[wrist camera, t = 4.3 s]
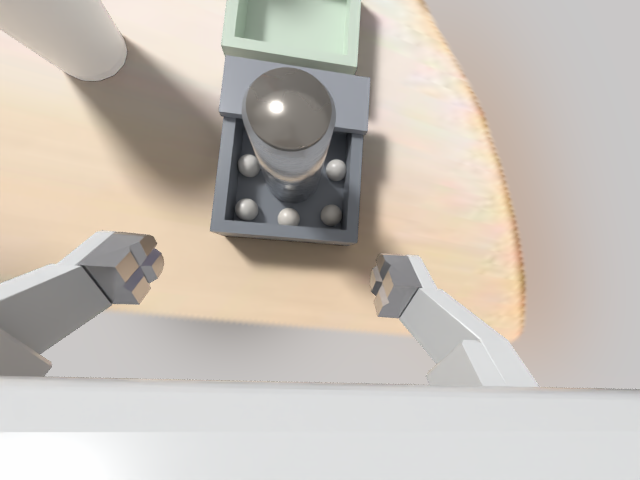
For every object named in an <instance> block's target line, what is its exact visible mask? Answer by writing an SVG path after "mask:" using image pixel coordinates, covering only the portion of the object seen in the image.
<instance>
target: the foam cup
mask: <svg viewBox="0 0 640 480" xmlns="http://www.w3.org/2000/svg"><path fill="white" fill-rule="evenodd" d="M0 30H2V31H3V32H5V33H6V34H8V35H9V36H11V37H12V38H14V39H15V40H17V41H18V42H20V43H21V44H23V45H24V46H26V47H27V48H29V49H30V50H32V51H33V52H35V53H36V54H38V55H39V56H41V57H42V58H44V59H45V60H47V61H48V62H50V63H51V64H53V65H54V66H56V67H57V68H59V69H61V70H63V71H65V72H66V73H67V74H68V75H71V76H73V77H76V78H78V79H80V80H83V81H100V80H103V79H105V78H108V77H111V76H113V75H115V74H116V73H117V72H118V70H119V69H120V68H121V67H122V66H123V65H124V63H125V59H126V55H127V52H128V51H127V48H126V44H125V40H124V38H123V37H122V35H121V34H120V31H119V29H118V28H117V26H116V24H115V23H114V21H113V20H112V18H111V16H110V15H109V13H108V11H107V10H106V8H105V7H104V5H103V3H102V2H101V0H0Z"/></svg>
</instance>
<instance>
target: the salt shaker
mask: <svg viewBox="0 0 640 480" xmlns="http://www.w3.org/2000/svg"><path fill="white" fill-rule="evenodd" d="M241 109H242V119H243V123H244V126H245V129H246V131H247V134H248V136H249V139H250V142H251V144H252V147H253V149H254V152H255V155H256V157H257V160H258V163H259V165H260V168H261V170H262V173H263V176H264V178H265V181H266V184H267V186H268V188H269V190H270V192H271V193H272V194H273V195H274V196H275V197H276V198H277V199H279V200H281V201H283V202H286V203H300V202H303V201H305V200H307V199H308V198H310V197H311V196H312V195H313V193H314V192H315V190H316V188H317V186H318V182H319V179H320V175H321V172H322V168H323V165H324V161H325V158H326V155H327V151H328V148H329V144H330V141H331V137H332V134H333V130H334V127H335V122H336V109H335V104H334V101H333V98H332V96H331V94H330V93H329V91H328V90H327V88H326V87H325V86H324V85H323V84H322V83H321V82H320V81H319V80H318V79H317V78H315V77H314V76H313V75H311V74H309V73H308V72H305V71H303V70H300V69H297V68H291V67H281V68H275V69H272V70H269V71H267V72H265V73H263V74H262V75H260V76H259V77H258V78H257V79H255V80H254V81H253V82H252V83H251V85H250V86H249V87H248V89H247V90H246V92H245V95H244V97H243V101H242V108H241Z"/></svg>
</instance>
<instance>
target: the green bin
mask: <svg viewBox="0 0 640 480" xmlns="http://www.w3.org/2000/svg"><path fill="white" fill-rule="evenodd" d="M360 10H361V0H227V2H226V10H225V18H224V26H223V34H222V42H221V46H222V49H223V52H224V55H225V56H226V55H229V56H235V57H242V58H248V59H254V60H261V61H267V62H274V63H280V64H286V65H293V66H299V67H305V68H312V69H318V70H324V71H331V72H337V73H344V74H350V75H355V72H356V69H357V61H358V44H359V27H360Z"/></svg>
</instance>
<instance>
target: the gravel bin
mask: <svg viewBox="0 0 640 480" xmlns="http://www.w3.org/2000/svg"><path fill="white" fill-rule="evenodd" d="M281 67H291V68H297V69H300V70H303V71H305V72H308V73H309V74H311V75H313V76H314V77H315V78H317V79H318V80H319V81H320V82H321V83H322V84H323V85H324V86H325V87H326V88H327V90H328V91H329V93H330V94H331V96H332V98H333V101H334V104H335V109H336V122H335V127H334V130H333V134H332V137H331V141H330V144H329V148H328V151H327V155H326V158H325V161H324V165H323V168H322V172H321V175H320V179H319V182H318V186H317V188H316V190H315V192H314V193H313V195H312V196H311V197H310V198H308V199H307V200H305V201H303V202H300V203H286V202H283V201H281V200H279V199H277V198H276V197H275V196H274V195H273V194H272V193H271V192H270V190H269V188H268V186H267V184H266V181H265V178H264V176H263V173H262V170H261V168H260V165H259V163H258V160H257V157H256V155H255V152H254V149H253V147H252V144H251V142H250V139H249V136H248V134H247V131H246V129H245V126H244V123H243V119H242V109H241V108H242V101H243V97H244V95H245V92H246V90H247V89H248V87H249V86H250V85H251V83H252V82H253V81H254V80H255V79H257V78H258V77H259V76H260V75H262V74H263V73H265V72H267V71H269V70H272V69H275V68H281ZM369 95H370V78H369V77H363V76H356V75H350V74H344V73H337V72H331V71H324V70H318V69H312V68H305V67H299V66H293V65H286V64H280V63H274V62H267V61H261V60H254V59H248V58H242V57H235V56H229V55H226V56H225V65H224V73H223V81H222V89H221V97H220V105H219V113H220V115H221V116H224V118H223V126H222V135H221V143H220V151H219V160H218V168H217V176H216V184H215V193H214V201H213V209H212V218H211V226H210V231H211V232H214V233H217V234H220V235H223V236H232V237H244V238H257V239H269V240H282V241H295V242H307V243H320V244H332V245H345V246H349V245H352V244H356V243H357V241H358V222H359V204H360V186H361V167H362V149H363V135H366V133H367V131H368V114H369Z"/></svg>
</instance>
